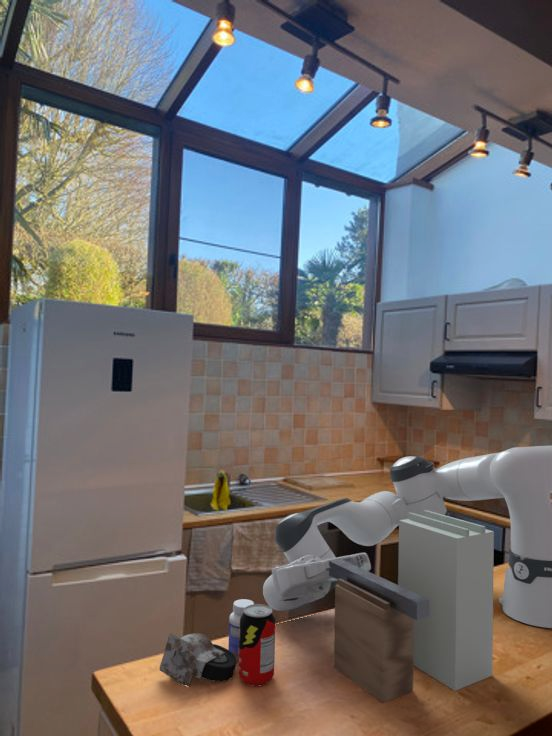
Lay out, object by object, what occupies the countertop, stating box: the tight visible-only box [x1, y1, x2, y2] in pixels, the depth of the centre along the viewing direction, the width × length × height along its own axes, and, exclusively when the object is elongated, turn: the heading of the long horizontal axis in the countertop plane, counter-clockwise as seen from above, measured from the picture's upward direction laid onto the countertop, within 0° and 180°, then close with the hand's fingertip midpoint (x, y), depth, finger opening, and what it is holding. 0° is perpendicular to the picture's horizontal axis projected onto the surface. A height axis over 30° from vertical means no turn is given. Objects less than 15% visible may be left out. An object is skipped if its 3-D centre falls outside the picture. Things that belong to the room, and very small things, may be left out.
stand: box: [397, 510, 495, 692], centre depth 102 cm, size 10×14×27 cm
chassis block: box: [333, 578, 414, 704], centre depth 97 cm, size 7×13×16 cm, turn 32°
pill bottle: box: [227, 598, 255, 661], centre depth 104 cm, size 5×5×10 cm
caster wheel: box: [159, 632, 238, 687], centre depth 97 cm, size 7×11×10 cm
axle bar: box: [329, 559, 429, 620], centre depth 97 cm, size 3×23×3 cm, turn 32°
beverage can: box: [238, 603, 276, 687], centre depth 96 cm, size 6×6×12 cm
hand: (346, 561), depth 104 cm, fingers open, 8 cm apart
